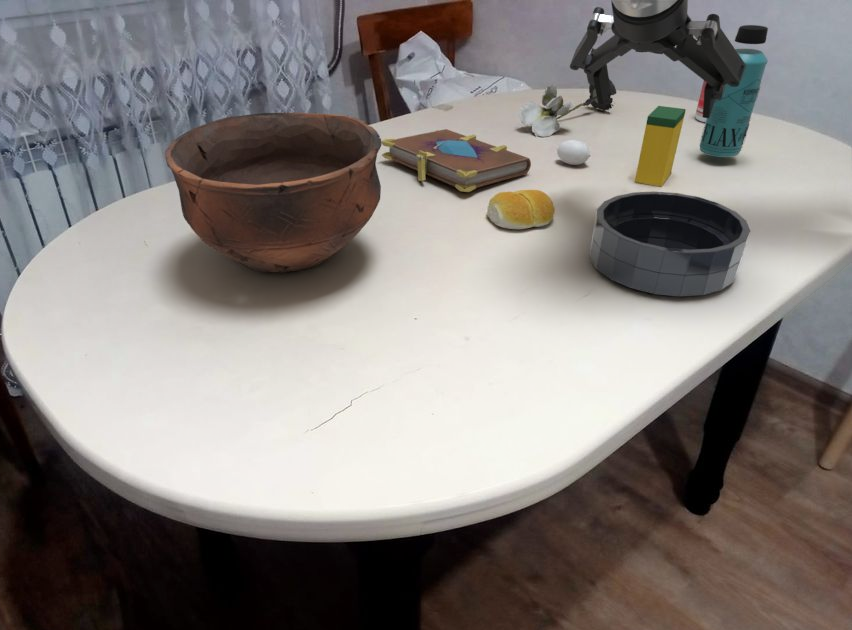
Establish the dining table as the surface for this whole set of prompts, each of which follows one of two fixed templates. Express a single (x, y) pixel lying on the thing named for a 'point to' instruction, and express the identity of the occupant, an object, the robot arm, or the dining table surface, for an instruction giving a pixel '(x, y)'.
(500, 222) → the bread roll
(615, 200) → the wash bowl
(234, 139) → the bowl
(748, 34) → the beverage bottle
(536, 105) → the artificial flower
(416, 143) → the book
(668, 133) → the sponge
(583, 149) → the egg
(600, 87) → the robot arm
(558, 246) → the dining table surface
